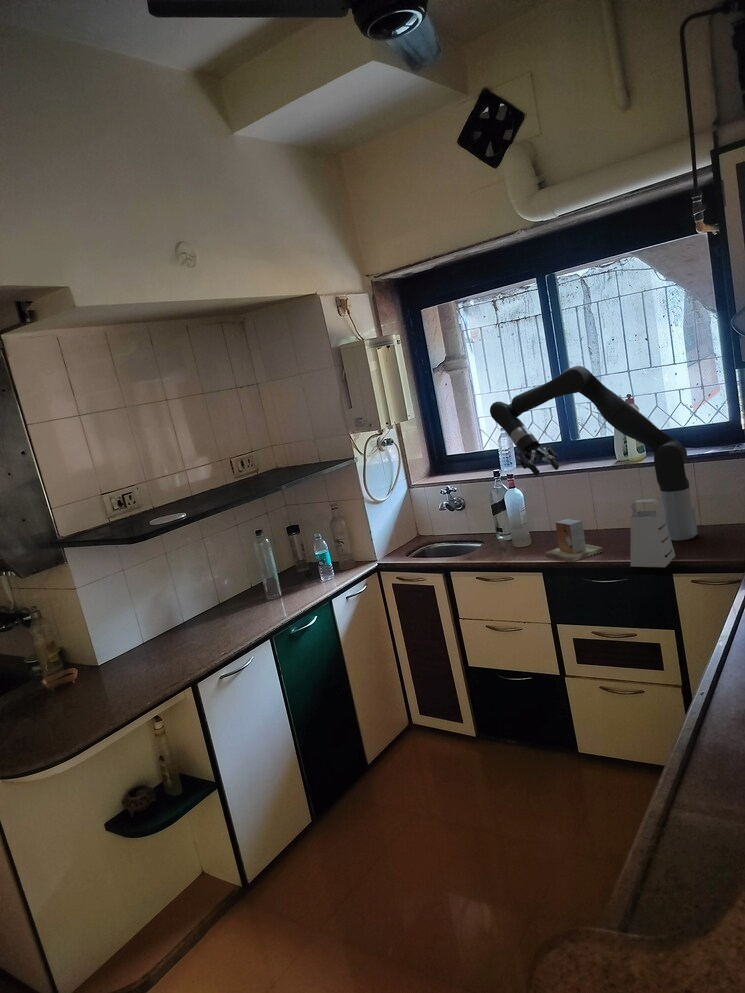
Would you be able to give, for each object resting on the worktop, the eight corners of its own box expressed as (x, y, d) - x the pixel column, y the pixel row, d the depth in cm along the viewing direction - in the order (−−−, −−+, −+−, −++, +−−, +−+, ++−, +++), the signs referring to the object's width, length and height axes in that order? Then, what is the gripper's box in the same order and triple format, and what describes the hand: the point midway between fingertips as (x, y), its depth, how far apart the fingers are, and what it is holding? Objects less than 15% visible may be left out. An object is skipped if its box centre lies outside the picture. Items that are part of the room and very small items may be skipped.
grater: (642, 556, 218) (633, 497, 215) (675, 556, 211) (667, 495, 208) (630, 566, 210) (621, 505, 207) (665, 567, 203) (656, 504, 200)
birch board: (577, 545, 244) (577, 542, 244) (603, 551, 231) (602, 547, 231) (546, 556, 239) (545, 552, 239) (570, 562, 226) (570, 558, 226)
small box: (559, 550, 238) (554, 522, 236) (571, 546, 239) (567, 518, 238) (574, 553, 230) (569, 524, 229) (586, 549, 232) (582, 520, 230)
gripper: (511, 437, 244) (534, 468, 235) (543, 429, 249) (567, 459, 240) (505, 451, 250) (528, 482, 241) (537, 443, 255) (560, 473, 246)
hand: (547, 471), depth 240 cm, fingers open, 8 cm apart
